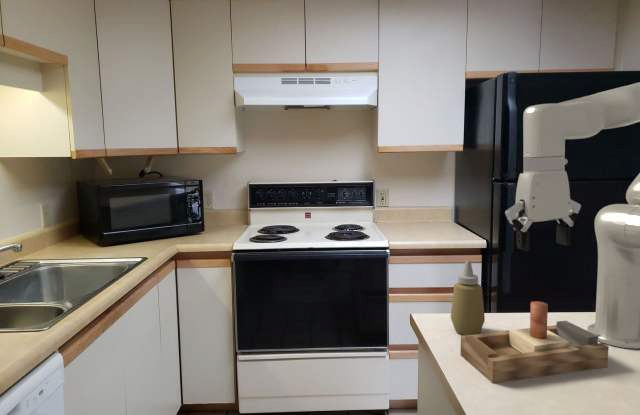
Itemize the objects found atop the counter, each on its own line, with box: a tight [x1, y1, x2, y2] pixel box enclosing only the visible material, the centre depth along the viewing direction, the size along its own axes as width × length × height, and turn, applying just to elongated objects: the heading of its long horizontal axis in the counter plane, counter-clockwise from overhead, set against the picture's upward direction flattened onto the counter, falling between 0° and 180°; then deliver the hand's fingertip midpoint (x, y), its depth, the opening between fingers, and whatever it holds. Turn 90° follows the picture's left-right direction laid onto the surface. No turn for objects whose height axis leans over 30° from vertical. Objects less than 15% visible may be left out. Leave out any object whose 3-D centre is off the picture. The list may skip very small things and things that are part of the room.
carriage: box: [508, 300, 569, 353], centre depth 90 cm, size 8×8×10 cm
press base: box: [460, 320, 610, 384], centre depth 90 cm, size 26×12×6 cm, turn 101°
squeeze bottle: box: [450, 260, 486, 336], centre depth 105 cm, size 8×8×18 cm
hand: (543, 246), depth 89 cm, fingers open, 9 cm apart
